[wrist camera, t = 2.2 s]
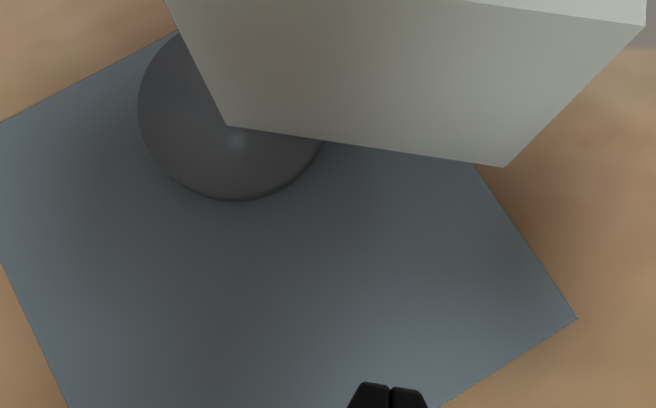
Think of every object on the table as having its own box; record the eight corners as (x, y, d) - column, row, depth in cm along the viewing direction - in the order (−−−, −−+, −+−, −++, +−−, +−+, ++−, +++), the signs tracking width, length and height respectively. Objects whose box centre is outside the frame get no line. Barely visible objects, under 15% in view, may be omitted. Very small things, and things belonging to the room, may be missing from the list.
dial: (128, 186, 22) (-65, 43, 11) (170, 19, 23) (34, -242, 13) (487, 243, 21) (639, 148, 11) (505, 68, 23) (654, -166, 12)
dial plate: (567, 319, 22) (579, 318, 21) (161, 577, 20) (151, 591, 19) (328, -35, 25) (327, -51, 24) (-35, 158, 23) (-54, 149, 22)
